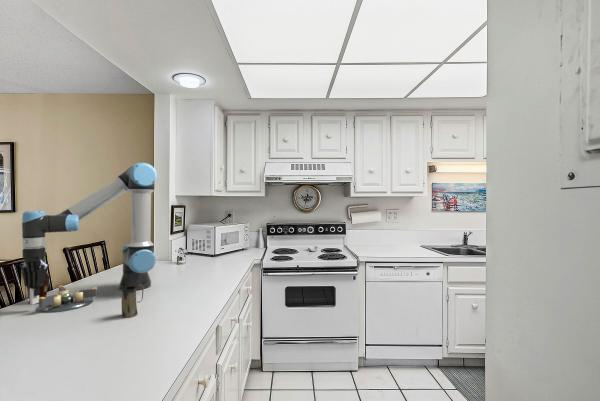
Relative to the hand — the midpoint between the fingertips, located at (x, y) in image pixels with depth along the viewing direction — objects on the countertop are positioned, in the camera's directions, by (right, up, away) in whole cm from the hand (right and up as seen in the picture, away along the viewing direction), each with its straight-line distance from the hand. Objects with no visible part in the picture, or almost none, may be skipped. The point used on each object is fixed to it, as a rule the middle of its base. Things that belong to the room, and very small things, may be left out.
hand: (34, 303), depth 138 cm
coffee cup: (-8, -3, +12) cm, 15 cm away
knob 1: (+6, -2, +1) cm, 7 cm away
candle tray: (+8, -3, +8) cm, 12 cm away
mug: (+45, -3, -6) cm, 45 cm away
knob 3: (+15, -2, +10) cm, 18 cm away
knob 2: (+3, -2, +13) cm, 13 cm away
